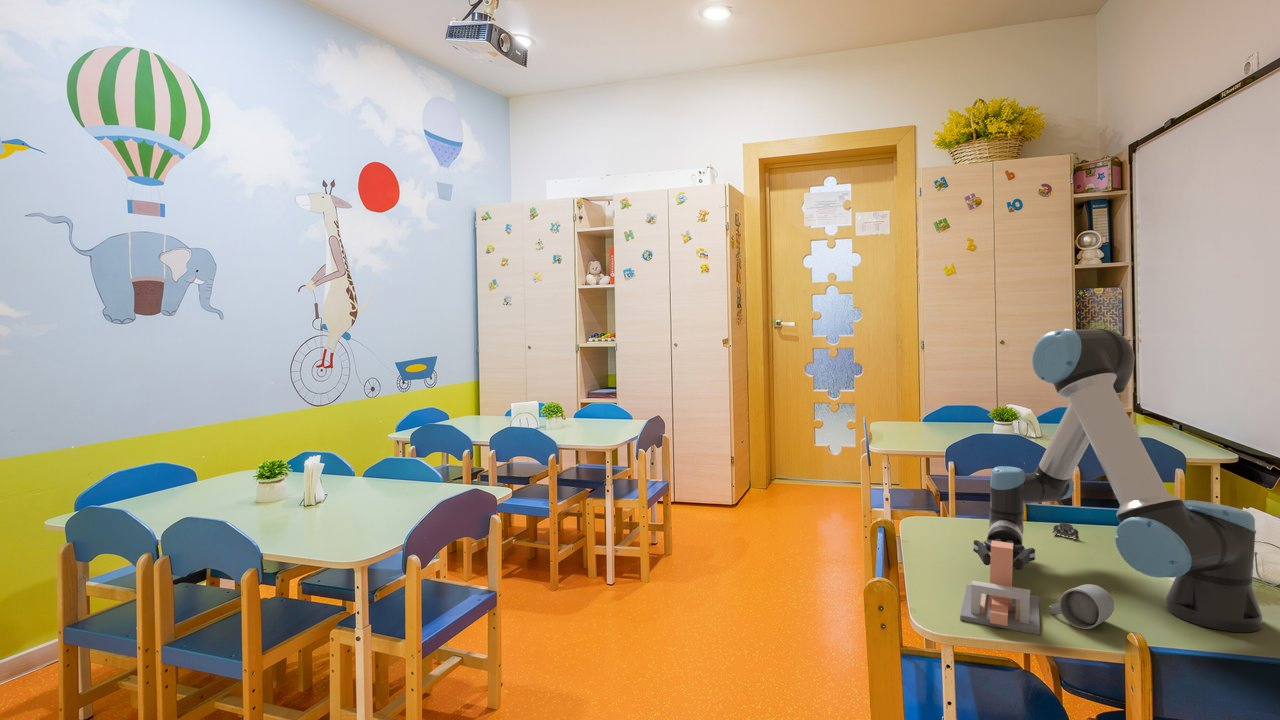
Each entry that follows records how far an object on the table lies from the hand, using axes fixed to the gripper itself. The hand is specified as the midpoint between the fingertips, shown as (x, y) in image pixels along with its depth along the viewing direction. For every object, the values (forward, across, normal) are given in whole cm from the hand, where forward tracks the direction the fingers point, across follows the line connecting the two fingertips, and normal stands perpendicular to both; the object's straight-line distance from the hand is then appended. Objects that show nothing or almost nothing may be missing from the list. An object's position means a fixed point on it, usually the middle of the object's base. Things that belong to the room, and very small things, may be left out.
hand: (1001, 573), depth 146 cm
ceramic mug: (0, -14, -8) cm, 16 cm away
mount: (+1, 0, -8) cm, 8 cm away
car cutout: (-58, -18, -8) cm, 61 cm away
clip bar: (+6, 0, -6) cm, 9 cm away
